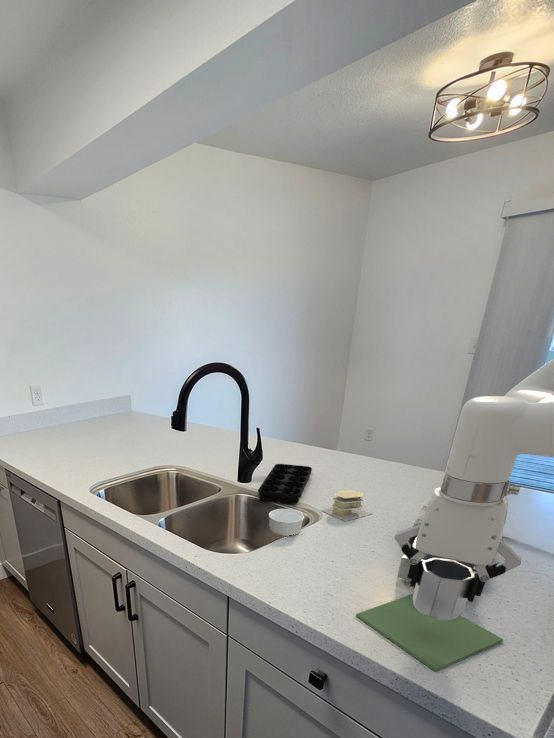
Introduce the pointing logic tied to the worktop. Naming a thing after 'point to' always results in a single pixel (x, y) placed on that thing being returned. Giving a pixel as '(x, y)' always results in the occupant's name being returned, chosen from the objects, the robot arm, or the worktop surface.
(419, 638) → the mat
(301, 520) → the ramekin
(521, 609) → the worktop surface
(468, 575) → the cup
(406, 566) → the drawer
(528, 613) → the worktop surface
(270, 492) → the egg carton
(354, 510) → the stacked layers on plate
